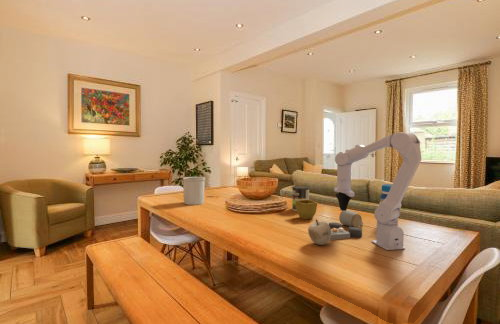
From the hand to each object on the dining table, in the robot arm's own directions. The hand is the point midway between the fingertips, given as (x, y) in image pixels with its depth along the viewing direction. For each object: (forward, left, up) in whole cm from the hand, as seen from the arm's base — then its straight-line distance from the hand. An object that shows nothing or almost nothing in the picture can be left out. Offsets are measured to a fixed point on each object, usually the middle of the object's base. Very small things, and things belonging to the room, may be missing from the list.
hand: (343, 210), depth 120 cm
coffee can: (+47, +2, -11) cm, 48 cm away
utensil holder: (+79, +67, -11) cm, 104 cm away
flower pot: (+28, +6, -11) cm, 31 cm away
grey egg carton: (-3, +5, -11) cm, 12 cm away
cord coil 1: (+5, +1, -11) cm, 12 cm away
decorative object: (-11, +16, -11) cm, 22 cm away
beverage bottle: (+7, -28, -11) cm, 31 cm away
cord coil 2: (-4, -4, -11) cm, 12 cm away
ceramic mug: (+10, -11, -11) cm, 18 cm away
